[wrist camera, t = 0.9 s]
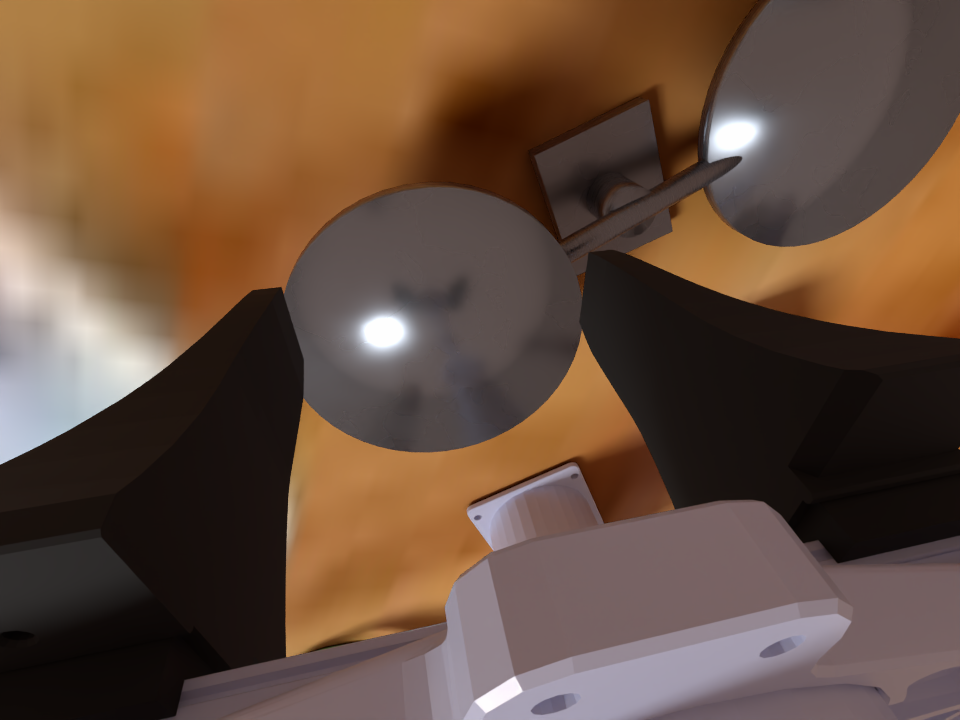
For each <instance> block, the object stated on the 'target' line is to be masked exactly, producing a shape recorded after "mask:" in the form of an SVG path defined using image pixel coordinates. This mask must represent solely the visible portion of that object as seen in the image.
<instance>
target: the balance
mask: <svg viewBox="0 0 960 720" xmlns="http://www.w3.org/2000/svg"><path fill="white" fill-rule="evenodd" d="M959 113H960V0H759V1H758V2H757V3H756V4H755V6H754V7H753V9H752V10H751V11H750V13H749V14H748V15H747V17H746V18H745V19H744V21H743V22H742V23H741V25H740V26H739V28H738V30H737V31H736V33H735V35H734V36H733V38H732V40H731V41H730V43H729V44H728V46H727V48H726V50H725V52H724V54H723V56H722V58H721V60H720V62H719V64H718V66H717V68H716V71H715V73H714V76H713V79H712V81H711V84H710V86H709V89H708V92H707V96H706V99H705V103H704V107H703V110H702V115H701V121H700V127H699V134H698V162H697V163H695V164H693V165H692V166H690V167H688V168H686V169H685V170H683V171H681V172H679V173H678V174H676V175H674V176H672V177H671V178H669V179H667V180H665V181H663V175H662V170H661V164H660V159H659V153H658V148H657V142H656V136H655V131H654V125H653V120H652V114H651V109H650V103H649V100H648V99H643V98H639V97H637V98H635V99H633V100H631V101H629V102H627V103H625V104H623V105H621V106H619V107H617V108H615V109H613V110H611V111H609V112H607V113H605V114H603V115H600V116H598V117H596V118H594V119H592V120H590V121H588V122H586V123H584V124H582V125H580V126H578V127H576V128H574V129H572V130H570V131H568V132H566V133H564V134H562V135H560V136H558V137H556V138H554V139H552V140H550V141H548V142H546V143H544V144H542V145H539V146H537V147H535V148H533V149H531V150H529V151H528V152H529V155H530V158H531V161H532V164H533V167H534V170H535V173H536V176H537V179H538V182H539V185H540V188H541V190H542V193H543V196H544V199H545V202H546V205H547V208H548V211H549V214H550V217H551V220H552V223H553V226H554V229H555V232H556V235H557V238H558V242H557V241H556V239H555V238H554V237H553V236H552V235H551V234H550V232H549V231H548V230H547V229H546V228H545V227H544V226H543V224H542V223H540V222H539V221H538V220H537V219H536V218H535V217H534V216H533V215H531V214H530V213H529V212H528V211H527V210H525V209H523V208H522V207H520V206H519V205H517V204H516V203H514V202H513V201H511V200H509V199H507V198H505V197H502V196H500V195H498V194H496V193H494V192H491V191H488V190H485V189H481V188H478V187H475V186H471V185H464V184H458V183H451V182H422V183H414V184H406V185H401V186H397V187H394V188H390V189H386V190H382V191H380V192H377V193H375V194H373V195H370V196H368V197H365V198H363V199H361V200H359V201H357V202H356V203H354V204H352V205H351V206H349V207H347V208H345V209H344V210H342V211H341V212H340V213H338V214H337V215H336V216H335V217H333V218H332V219H331V220H330V221H328V222H327V223H326V224H325V225H324V226H323V227H322V228H321V229H320V230H319V231H318V232H317V233H316V234H315V235H314V236H313V238H312V239H311V240H310V241H309V243H308V244H307V246H306V247H305V249H304V250H303V251H302V253H301V254H300V256H299V258H298V260H297V262H296V264H295V266H294V268H293V270H292V272H291V274H290V277H289V280H288V283H287V286H286V290H285V293H284V297H285V300H286V304H287V307H288V310H289V313H290V316H291V320H292V323H293V326H294V329H295V332H296V336H297V339H298V342H299V345H300V348H301V352H302V355H303V358H304V396H303V398H304V399H305V400H306V402H307V403H308V404H309V405H310V406H311V407H312V408H313V409H314V410H315V411H316V412H317V413H318V414H319V415H320V416H321V417H323V418H324V419H325V420H326V421H328V422H329V423H330V424H332V425H333V426H334V427H336V428H338V429H339V430H341V431H343V432H344V433H346V434H348V435H350V436H352V437H354V438H357V439H359V440H361V441H363V442H366V443H369V444H373V445H376V446H379V447H383V448H388V449H392V450H398V451H407V452H438V451H448V450H454V449H459V448H464V447H467V446H471V445H475V444H478V443H481V442H483V441H486V440H489V439H491V438H494V437H496V436H498V435H500V434H502V433H504V432H506V431H508V430H510V429H511V428H513V427H514V426H516V425H518V424H519V423H521V422H522V421H524V420H525V419H526V418H528V417H529V416H530V415H531V414H533V413H534V412H535V411H536V410H537V409H538V408H539V407H540V406H541V405H543V404H544V403H545V402H546V401H547V400H548V398H549V397H550V396H551V395H552V394H553V392H554V391H555V390H556V389H557V388H558V386H559V385H560V383H561V382H562V380H563V378H564V377H565V375H566V374H567V372H568V370H569V368H570V366H571V364H572V362H573V360H574V357H575V354H576V351H577V348H578V345H579V341H580V336H581V331H582V328H581V325H580V323H579V320H580V312H581V305H582V295H581V291H580V287H579V283H578V279H577V275H580V274H582V273H584V272H586V267H587V260H588V252H595V251H604V250H616V251H619V252H622V253H627V252H629V251H631V250H633V249H636V248H638V247H640V246H642V245H644V244H646V243H648V242H651V241H653V240H655V239H657V238H659V237H661V236H664V235H666V234H668V233H670V232H672V225H671V219H670V214H669V207H671V206H672V205H674V204H676V203H678V202H679V201H681V200H683V199H685V198H686V197H688V196H690V195H692V194H693V193H695V192H697V191H699V190H700V189H702V188H703V189H704V192H705V194H706V197H707V199H708V201H709V203H710V205H711V206H712V208H713V210H714V211H715V212H716V214H717V215H718V216H719V217H720V218H721V220H722V221H723V222H725V223H726V224H727V225H728V226H730V227H731V228H732V229H734V230H736V231H737V232H739V233H741V234H743V235H745V236H747V237H748V238H750V239H752V240H754V241H757V242H760V243H763V244H766V245H772V246H779V247H786V246H800V245H807V244H811V243H815V242H819V241H822V240H825V239H828V238H830V237H833V236H835V235H838V234H840V233H842V232H844V231H846V230H848V229H850V228H852V227H854V226H855V225H857V224H859V223H860V222H862V221H863V220H865V219H867V218H868V217H870V216H871V215H872V214H874V213H875V212H876V211H878V210H879V209H880V208H882V207H883V206H884V205H886V204H887V203H888V202H889V201H890V200H891V199H893V198H894V197H895V196H896V195H897V194H898V193H899V192H900V191H901V190H902V189H903V188H904V187H905V186H906V185H907V184H908V183H909V182H910V181H911V180H912V179H913V178H914V177H915V176H916V175H917V174H918V173H919V171H920V170H921V169H922V168H923V167H924V166H925V164H926V163H927V162H928V161H929V159H930V158H931V157H932V155H933V154H934V153H935V151H936V150H937V149H938V147H939V146H940V145H941V143H942V142H943V140H944V138H945V137H946V135H947V134H948V132H949V131H950V129H951V127H952V126H953V124H954V122H955V120H956V118H957V116H958V115H959Z"/></svg>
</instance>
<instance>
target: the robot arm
mask: <svg viewBox="0 0 960 720" xmlns="http://www.w3.org/2000/svg"><path fill="white" fill-rule="evenodd" d="M579 323H580V325H581V328H582V330H583V333H584V335H585V338H586V340H587V343H588V345H589V347H590V349H591V352H592V354H593V355H594V357H595V359H596V360H597V362H598V364H599V365H600V367H601V369H602V370H603V372H604V373H605V375H606V377H607V378H608V380H609V381H610V383H611V385H612V386H613V388H614V389H615V391H616V392H617V394H618V396H619V397H620V399H621V400H622V402H623V404H624V405H625V407H626V408H627V410H628V412H629V413H630V415H631V416H632V418H633V420H634V421H635V423H636V425H637V427H638V428H639V430H640V432H641V434H642V436H643V438H644V440H645V442H646V445H647V447H648V449H649V451H650V453H651V455H652V457H653V459H654V461H655V463H656V466H657V468H658V470H659V473H660V475H661V477H662V479H663V482H664V484H665V486H666V489H667V491H668V493H669V495H670V498H671V500H672V503H673V505H674V508H675V510H670V511H665V512H660V513H655V514H650V515H645V516H640V517H635V518H630V519H625V520H620V521H615V522H610V523H605V524H604V522H603V520H602V518H601V516H600V513H599V511H598V509H597V507H596V504H595V502H594V500H593V498H592V495H591V493H590V491H589V489H588V486H587V484H586V482H585V480H584V477H583V475H582V473H581V471H580V469H579V466H578V464H577V463H574V462H571V463H568V464H565V465H563V466H561V467H558V468H556V469H554V470H551V471H549V472H547V473H544V474H542V475H540V476H538V477H535V478H533V479H531V480H528V481H526V482H524V483H521V484H519V485H517V486H514V487H512V488H510V489H507V490H505V491H503V492H500V493H498V494H496V495H494V496H491V497H489V498H487V499H484V500H482V501H480V502H477V503H475V504H473V505H471V506H469V507H468V508H467V514H468V517H469V518H470V519H471V521H472V522H473V523H474V525H475V526H476V528H477V529H478V530H479V532H480V533H481V534H482V536H483V537H484V538H485V540H486V541H487V543H488V544H489V545H490V547H491V548H492V549H493V551H494V552H491V553H489V554H488V555H486V556H485V557H484V558H482V559H481V560H480V561H478V562H477V563H476V564H474V565H473V566H472V567H470V568H469V569H468V570H466V571H465V572H464V573H462V574H461V575H460V576H459V578H458V579H457V580H456V581H455V583H454V585H453V587H452V590H451V593H450V595H449V598H448V600H447V603H446V605H445V612H446V620H447V622H445V623H440V624H436V625H431V626H427V627H422V628H418V629H413V630H409V631H404V632H399V633H395V634H390V635H386V636H381V637H377V638H372V639H368V640H363V641H359V642H354V643H350V644H345V645H341V646H336V647H332V648H327V649H322V650H318V651H313V652H309V653H304V654H300V655H295V656H291V657H286V633H285V593H286V538H287V514H288V493H289V484H290V476H291V470H292V464H293V458H294V452H295V446H296V440H297V434H298V428H299V422H300V415H301V409H302V403H303V396H304V358H303V355H302V352H301V348H300V345H299V342H298V339H297V336H296V332H295V329H294V326H293V323H292V320H291V316H290V313H289V310H288V307H287V304H286V300H285V297H284V294H283V291H282V288H281V287H278V288H269V289H260V290H253V291H251V292H250V293H249V294H247V295H246V296H245V297H244V298H243V299H242V300H241V301H240V302H239V303H238V304H236V305H235V306H234V307H233V308H232V309H231V310H230V311H229V312H228V313H227V314H226V315H225V316H224V317H223V318H222V319H221V320H220V321H219V322H218V323H217V324H216V325H214V326H213V327H212V328H211V329H210V330H209V331H208V332H207V333H206V334H205V335H204V336H203V337H202V338H201V339H199V340H198V341H197V342H196V343H195V344H193V345H192V346H191V347H190V348H189V349H188V350H186V351H185V352H184V353H183V354H182V355H180V356H179V357H178V358H177V359H176V360H175V361H173V362H172V363H171V364H170V365H169V366H167V367H166V368H165V369H163V370H162V371H161V372H160V373H158V374H157V375H156V376H154V377H153V378H151V379H150V380H149V381H147V382H146V383H144V384H143V385H142V386H140V387H139V388H137V389H136V390H134V391H133V392H131V393H130V394H128V395H127V396H125V397H124V398H122V399H121V400H119V401H118V402H116V403H114V404H113V405H111V406H109V407H108V408H106V409H104V410H103V411H101V412H99V413H98V414H96V415H94V416H92V417H91V418H89V419H87V420H86V421H84V422H82V423H81V424H79V425H77V426H76V427H74V428H72V429H70V430H69V431H67V432H65V433H63V434H61V435H59V436H57V437H55V438H53V439H52V440H50V441H48V442H46V443H44V444H42V445H40V446H38V447H36V448H34V449H32V450H30V451H28V452H26V453H24V454H22V455H20V456H18V457H16V458H14V459H12V460H9V461H7V462H5V463H3V464H1V465H0V720H960V450H959V449H958V448H959V447H960V339H957V338H946V337H936V336H926V335H915V334H905V333H895V332H886V331H879V330H873V329H866V328H859V327H853V326H846V325H841V324H835V323H830V322H824V321H819V320H815V319H810V318H806V317H801V316H797V315H792V314H788V313H784V312H780V311H776V310H772V309H769V308H765V307H762V306H758V305H755V304H752V303H748V302H745V301H742V300H739V299H736V298H733V297H730V296H727V295H724V294H721V293H719V292H716V291H713V290H711V289H708V288H705V287H703V286H700V285H698V284H695V283H693V282H690V281H688V280H686V279H683V278H681V277H679V276H676V275H674V274H672V273H669V272H667V271H665V270H663V269H660V268H658V267H656V266H653V265H651V264H649V263H647V262H644V261H642V260H640V259H637V258H635V257H633V256H630V255H628V254H625V253H622V252H619V251H616V250H604V251H595V252H588V260H587V267H586V275H585V282H584V290H583V297H582V305H581V312H580V320H579ZM476 515H477V516H476Z"/></svg>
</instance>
